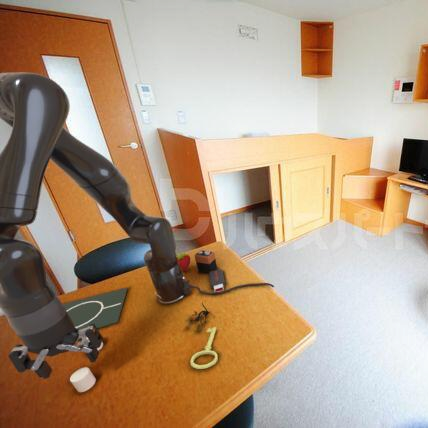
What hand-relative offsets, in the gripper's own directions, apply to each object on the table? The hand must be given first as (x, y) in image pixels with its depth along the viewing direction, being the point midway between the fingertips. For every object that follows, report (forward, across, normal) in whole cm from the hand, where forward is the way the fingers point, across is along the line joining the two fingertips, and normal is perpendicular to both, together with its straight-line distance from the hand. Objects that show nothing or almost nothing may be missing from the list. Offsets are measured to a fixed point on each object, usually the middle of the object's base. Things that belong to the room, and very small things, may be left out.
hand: (72, 366), depth 59 cm
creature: (+8, +27, +8) cm, 30 cm away
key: (+8, +29, -4) cm, 31 cm away
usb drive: (+8, +35, +26) cm, 45 cm away
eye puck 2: (+8, -1, +12) cm, 14 cm away
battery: (+8, +32, +36) cm, 49 cm away
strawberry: (+8, +23, +40) cm, 47 cm away
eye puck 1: (+8, 0, 0) cm, 8 cm away
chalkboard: (+8, -7, +29) cm, 31 cm away
